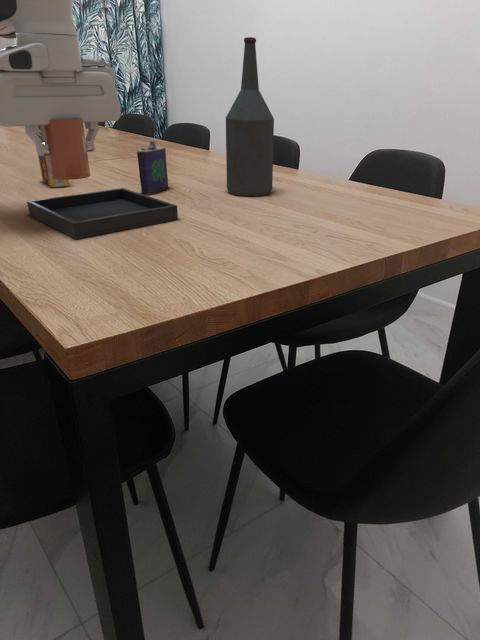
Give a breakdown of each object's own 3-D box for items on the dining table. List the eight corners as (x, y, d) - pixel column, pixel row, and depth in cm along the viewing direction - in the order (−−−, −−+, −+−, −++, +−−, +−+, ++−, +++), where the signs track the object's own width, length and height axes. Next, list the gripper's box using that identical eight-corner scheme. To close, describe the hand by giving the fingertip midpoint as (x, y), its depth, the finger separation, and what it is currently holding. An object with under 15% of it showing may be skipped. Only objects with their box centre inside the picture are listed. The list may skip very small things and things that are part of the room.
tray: (76, 239, 80) (73, 223, 79) (29, 215, 93) (26, 201, 92) (178, 219, 92) (177, 205, 91) (124, 200, 105) (123, 187, 103)
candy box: (71, 186, 116) (59, 113, 109) (52, 188, 114) (39, 114, 107) (60, 180, 123) (48, 111, 115) (42, 181, 120) (28, 111, 113)
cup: (60, 181, 82) (49, 121, 77) (44, 175, 86) (33, 118, 82) (97, 176, 86) (88, 119, 81) (80, 171, 90) (71, 116, 85)
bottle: (264, 186, 120) (267, 39, 105) (277, 195, 111) (282, 36, 97) (222, 188, 117) (219, 37, 102) (232, 197, 109) (230, 34, 94)
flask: (161, 186, 118) (157, 137, 112) (172, 188, 117) (169, 138, 111) (138, 194, 110) (133, 142, 105) (149, 195, 109) (145, 143, 104)
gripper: (103, 59, 85) (114, 146, 92) (-26, 56, 73) (-3, 156, 80) (122, 59, 81) (131, 150, 88) (-12, 55, 69) (11, 161, 76)
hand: (66, 153), depth 84 cm, fingers closed on cup, 6 cm apart
